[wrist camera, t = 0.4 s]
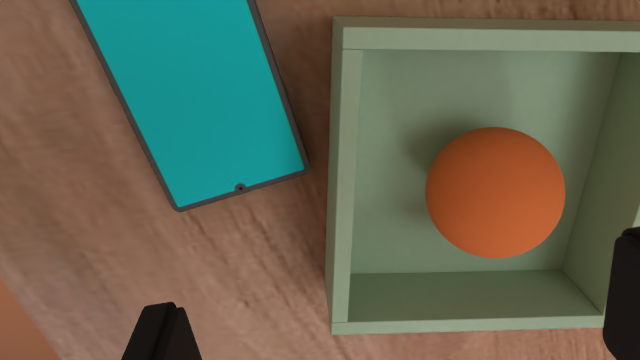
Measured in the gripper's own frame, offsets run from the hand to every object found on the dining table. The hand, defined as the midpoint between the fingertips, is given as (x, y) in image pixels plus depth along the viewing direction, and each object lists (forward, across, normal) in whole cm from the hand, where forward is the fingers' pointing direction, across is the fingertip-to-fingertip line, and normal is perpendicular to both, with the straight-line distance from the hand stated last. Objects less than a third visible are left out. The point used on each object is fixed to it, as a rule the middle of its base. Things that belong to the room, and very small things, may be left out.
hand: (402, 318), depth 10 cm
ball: (+11, -6, +3) cm, 13 cm away
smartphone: (+14, +6, -5) cm, 16 cm away
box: (+14, -6, +4) cm, 16 cm away
